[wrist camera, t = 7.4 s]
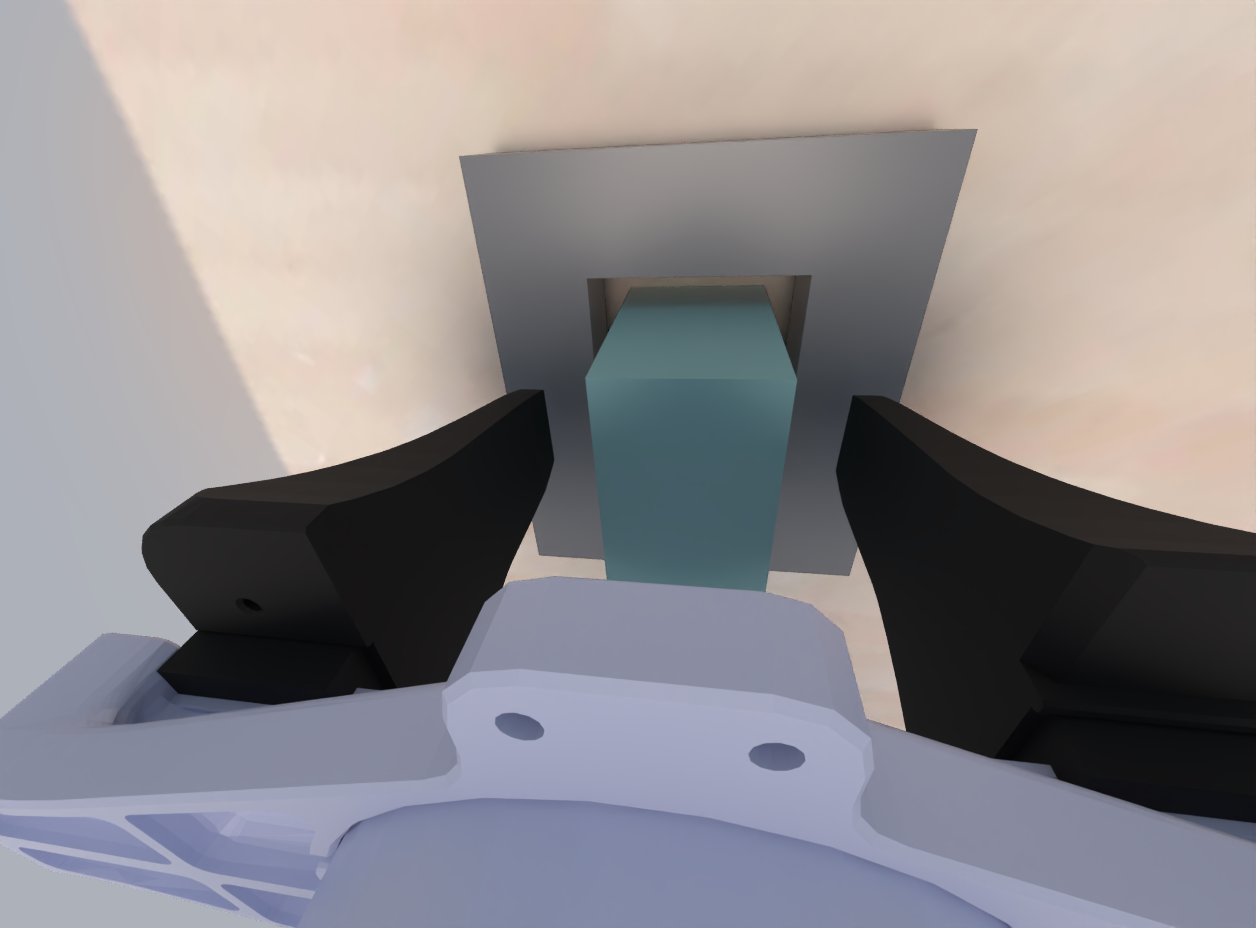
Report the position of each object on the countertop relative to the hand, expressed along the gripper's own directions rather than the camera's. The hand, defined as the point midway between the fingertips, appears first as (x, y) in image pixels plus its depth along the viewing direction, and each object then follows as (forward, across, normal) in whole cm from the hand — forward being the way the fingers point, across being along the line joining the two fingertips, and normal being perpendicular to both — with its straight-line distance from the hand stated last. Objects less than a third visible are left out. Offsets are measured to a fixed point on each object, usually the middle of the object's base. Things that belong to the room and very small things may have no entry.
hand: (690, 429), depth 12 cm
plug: (+3, 0, 0) cm, 3 cm away
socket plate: (+3, 0, 0) cm, 3 cm away
